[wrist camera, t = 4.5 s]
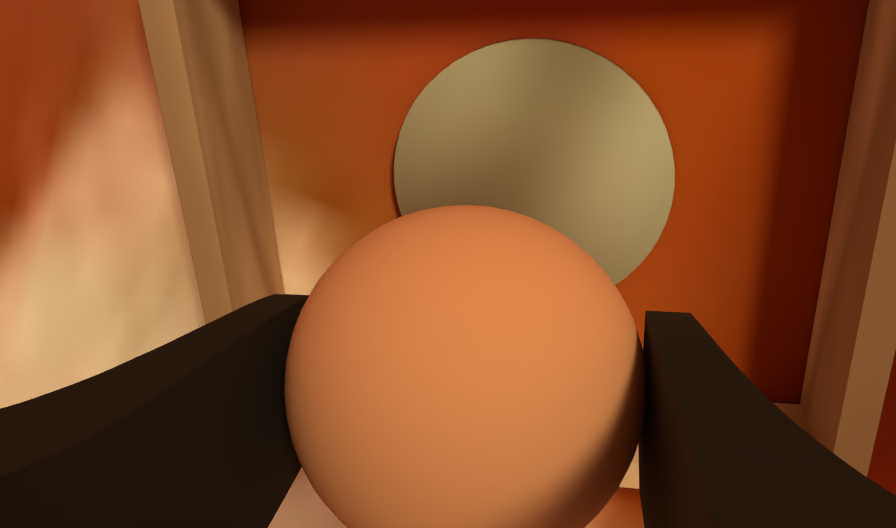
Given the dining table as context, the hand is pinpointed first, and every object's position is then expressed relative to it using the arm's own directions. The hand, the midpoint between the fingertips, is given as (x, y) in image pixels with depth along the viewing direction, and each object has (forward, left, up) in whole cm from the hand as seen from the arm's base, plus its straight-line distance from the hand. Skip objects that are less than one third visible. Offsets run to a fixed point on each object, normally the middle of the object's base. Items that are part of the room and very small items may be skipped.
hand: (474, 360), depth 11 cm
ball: (0, 0, -2) cm, 2 cm away
